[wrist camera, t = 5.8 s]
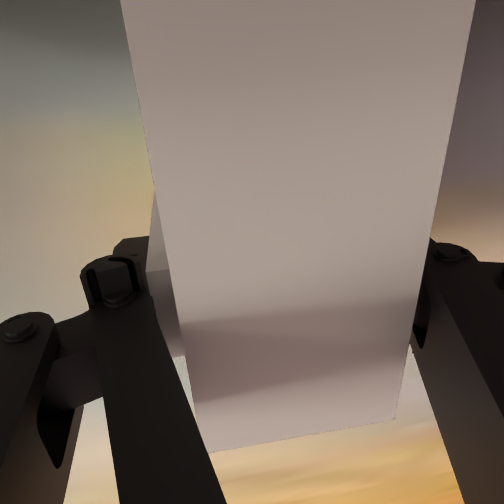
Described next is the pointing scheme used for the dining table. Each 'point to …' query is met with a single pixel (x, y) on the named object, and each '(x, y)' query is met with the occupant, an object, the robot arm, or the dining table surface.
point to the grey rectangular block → (296, 196)
